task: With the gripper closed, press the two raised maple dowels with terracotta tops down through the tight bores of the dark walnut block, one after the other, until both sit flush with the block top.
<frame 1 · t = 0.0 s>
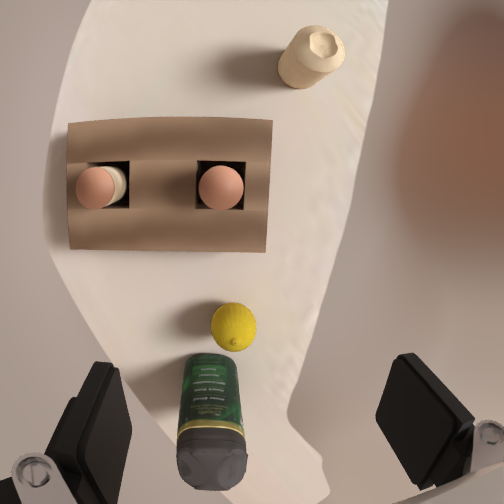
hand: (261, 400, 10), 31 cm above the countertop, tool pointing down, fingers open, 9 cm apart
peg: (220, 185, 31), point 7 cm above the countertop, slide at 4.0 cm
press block: (169, 181, 37), on the countertop
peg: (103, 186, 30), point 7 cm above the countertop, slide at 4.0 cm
lemon: (231, 311, 43), on the countertop
coffee jar: (210, 376, 46), on the countertop
candle: (298, 69, 35), on the countertop
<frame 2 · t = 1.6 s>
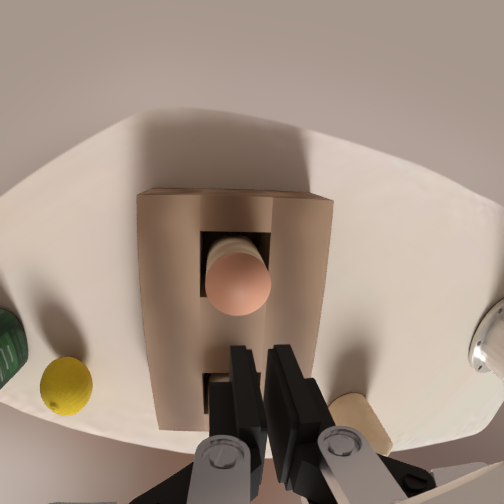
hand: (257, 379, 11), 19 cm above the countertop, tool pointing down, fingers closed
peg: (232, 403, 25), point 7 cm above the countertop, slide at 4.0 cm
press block: (228, 306, 31), on the countertop
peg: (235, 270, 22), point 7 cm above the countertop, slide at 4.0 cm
lemon: (78, 363, 31), on the countertop
coffee jar: (0, 330, 29), on the countertop
candle: (345, 407, 37), on the countertop
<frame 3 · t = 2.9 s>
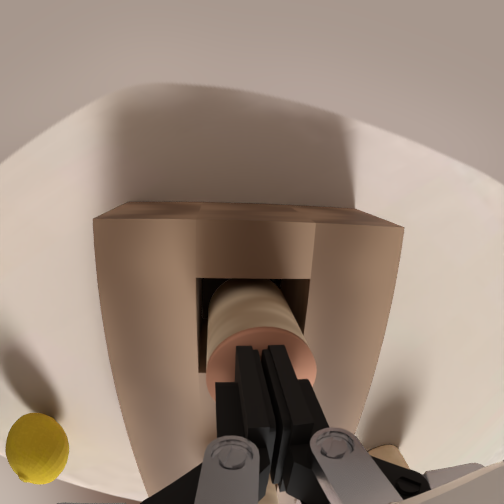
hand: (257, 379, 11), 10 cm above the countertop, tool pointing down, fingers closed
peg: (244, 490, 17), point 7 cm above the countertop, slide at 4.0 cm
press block: (239, 362, 22), on the countertop
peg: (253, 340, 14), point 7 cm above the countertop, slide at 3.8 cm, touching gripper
lemon: (52, 417, 22), on the countertop
candle: (374, 459, 28), on the countertop
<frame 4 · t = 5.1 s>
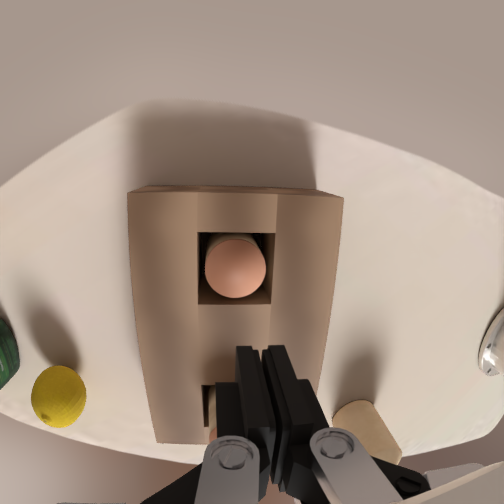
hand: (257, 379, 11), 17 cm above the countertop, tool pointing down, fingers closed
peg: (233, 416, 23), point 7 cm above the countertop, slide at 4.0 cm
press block: (229, 312, 29), on the countertop
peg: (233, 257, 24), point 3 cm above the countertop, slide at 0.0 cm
lemon: (72, 372, 29), on the countertop
candle: (352, 414, 35), on the countertop
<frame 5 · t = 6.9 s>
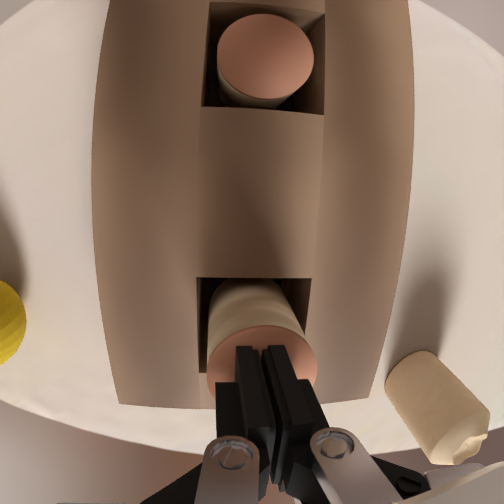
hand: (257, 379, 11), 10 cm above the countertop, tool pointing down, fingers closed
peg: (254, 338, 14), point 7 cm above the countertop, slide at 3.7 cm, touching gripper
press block: (246, 185, 19), on the countertop
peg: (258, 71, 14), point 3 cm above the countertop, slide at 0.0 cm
lemon: (15, 298, 19), on the countertop
candle: (410, 374, 24), on the countertop
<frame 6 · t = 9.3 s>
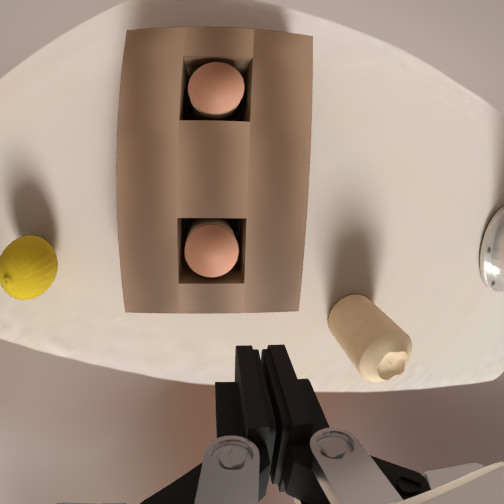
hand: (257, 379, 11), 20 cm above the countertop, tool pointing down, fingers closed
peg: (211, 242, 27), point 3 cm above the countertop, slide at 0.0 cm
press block: (212, 167, 28), on the countertop
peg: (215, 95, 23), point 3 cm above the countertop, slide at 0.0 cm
lemon: (47, 254, 28), on the countertop
candle: (349, 315, 34), on the countertop
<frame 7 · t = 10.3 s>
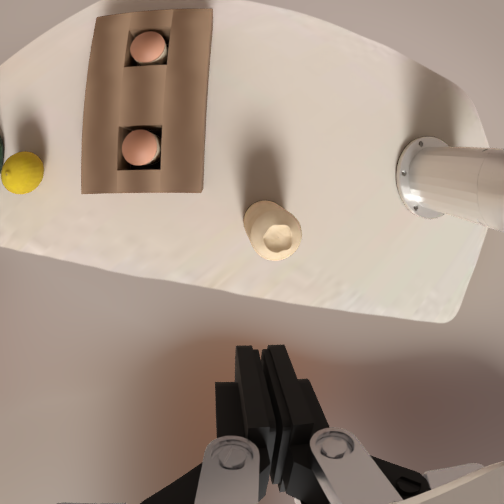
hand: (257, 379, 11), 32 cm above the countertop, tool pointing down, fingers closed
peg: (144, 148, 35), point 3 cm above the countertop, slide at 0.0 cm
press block: (152, 103, 36), on the countertop
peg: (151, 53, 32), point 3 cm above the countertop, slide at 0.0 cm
lemon: (38, 171, 37), on the countertop
candle: (264, 220, 42), on the countertop
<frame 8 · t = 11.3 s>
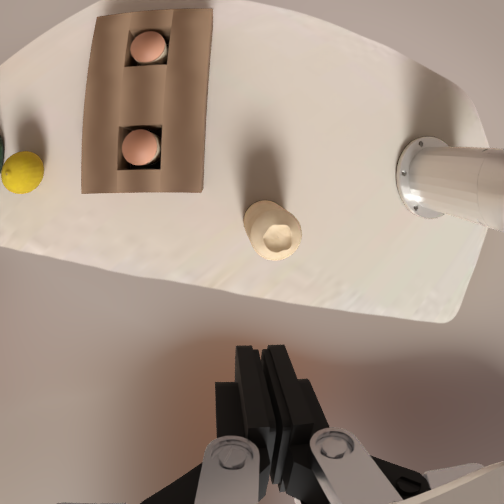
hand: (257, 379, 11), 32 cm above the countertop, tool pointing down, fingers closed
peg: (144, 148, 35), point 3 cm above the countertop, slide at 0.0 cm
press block: (152, 103, 36), on the countertop
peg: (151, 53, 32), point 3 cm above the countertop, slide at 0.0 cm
lemon: (38, 170, 37), on the countertop
candle: (264, 220, 42), on the countertop
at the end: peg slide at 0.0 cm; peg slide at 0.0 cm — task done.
